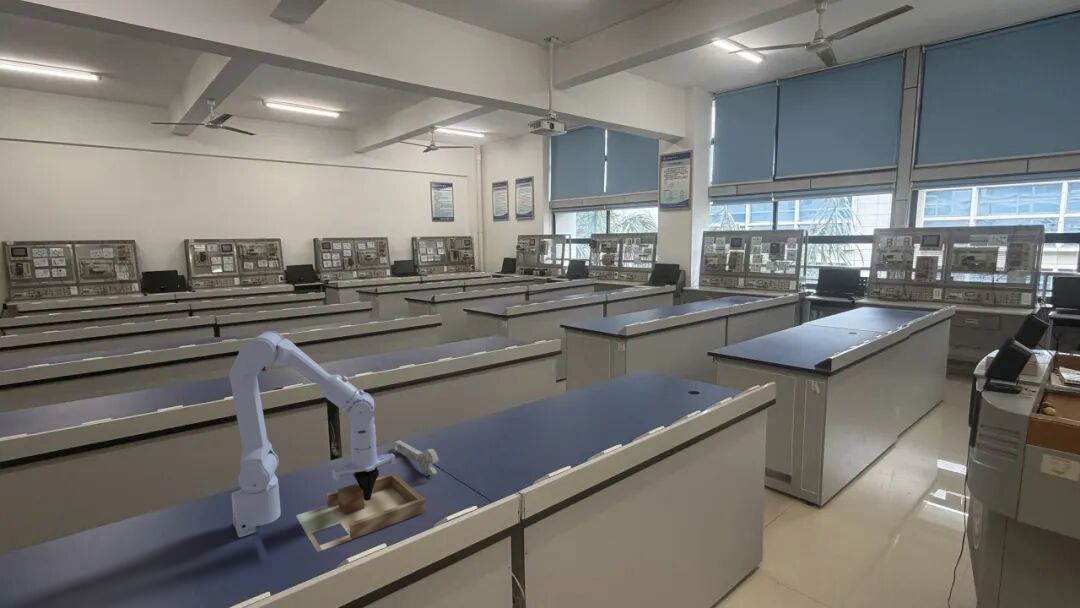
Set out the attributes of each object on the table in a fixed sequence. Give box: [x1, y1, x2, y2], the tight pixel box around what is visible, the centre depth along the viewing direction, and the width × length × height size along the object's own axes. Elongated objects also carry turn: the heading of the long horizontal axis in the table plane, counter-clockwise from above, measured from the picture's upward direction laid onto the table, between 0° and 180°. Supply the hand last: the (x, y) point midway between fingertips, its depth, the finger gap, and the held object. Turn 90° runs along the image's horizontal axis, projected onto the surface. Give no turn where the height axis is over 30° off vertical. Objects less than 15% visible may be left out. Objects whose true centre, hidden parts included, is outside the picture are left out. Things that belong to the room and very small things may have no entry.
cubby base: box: [295, 472, 426, 553], centre depth 116 cm, size 24×18×4 cm
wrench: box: [393, 439, 440, 477], centre depth 144 cm, size 8×2×30 cm
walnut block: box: [337, 482, 364, 515], centre depth 118 cm, size 4×4×4 cm
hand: (366, 498), depth 121 cm, fingers closed
